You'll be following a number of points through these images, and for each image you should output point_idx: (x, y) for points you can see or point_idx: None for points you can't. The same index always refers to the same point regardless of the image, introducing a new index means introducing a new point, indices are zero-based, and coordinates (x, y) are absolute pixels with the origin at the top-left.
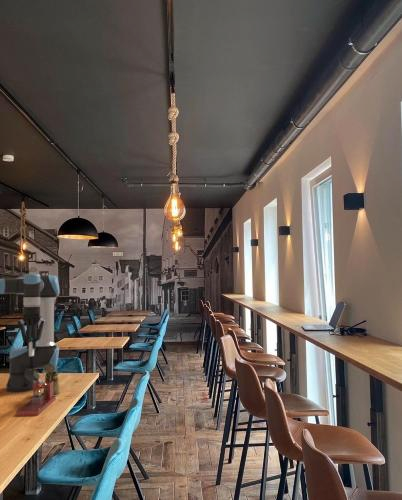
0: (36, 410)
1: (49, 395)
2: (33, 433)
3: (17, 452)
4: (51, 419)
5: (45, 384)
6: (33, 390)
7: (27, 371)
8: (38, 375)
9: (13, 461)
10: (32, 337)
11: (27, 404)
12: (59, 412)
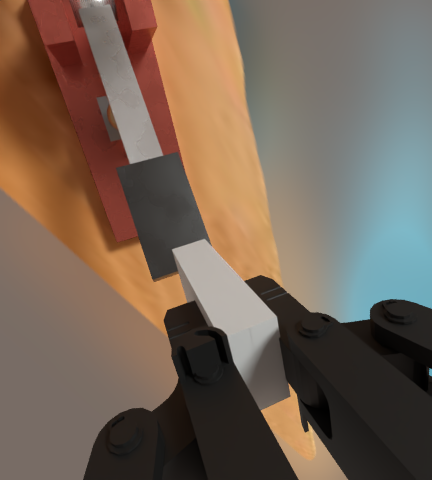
0: None
1: (145, 46)
2: None
3: (285, 410)
4: (256, 235)
5: (111, 8)
6: (54, 56)
7: (171, 274)
8: (184, 174)
9: (298, 433)
10: (351, 470)
11: (93, 150)
12: (247, 168)
